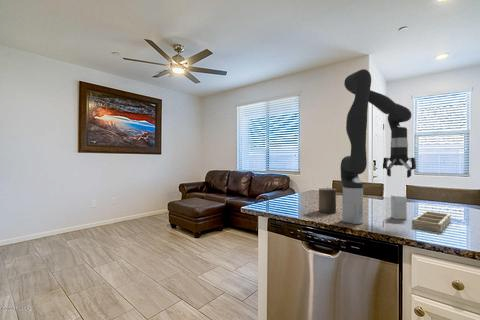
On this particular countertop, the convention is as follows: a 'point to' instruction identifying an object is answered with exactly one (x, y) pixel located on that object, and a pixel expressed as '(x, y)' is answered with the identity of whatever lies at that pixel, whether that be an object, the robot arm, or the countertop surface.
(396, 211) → the skincare box
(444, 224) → the slotted rack
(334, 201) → the pillar candle
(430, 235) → the countertop surface
